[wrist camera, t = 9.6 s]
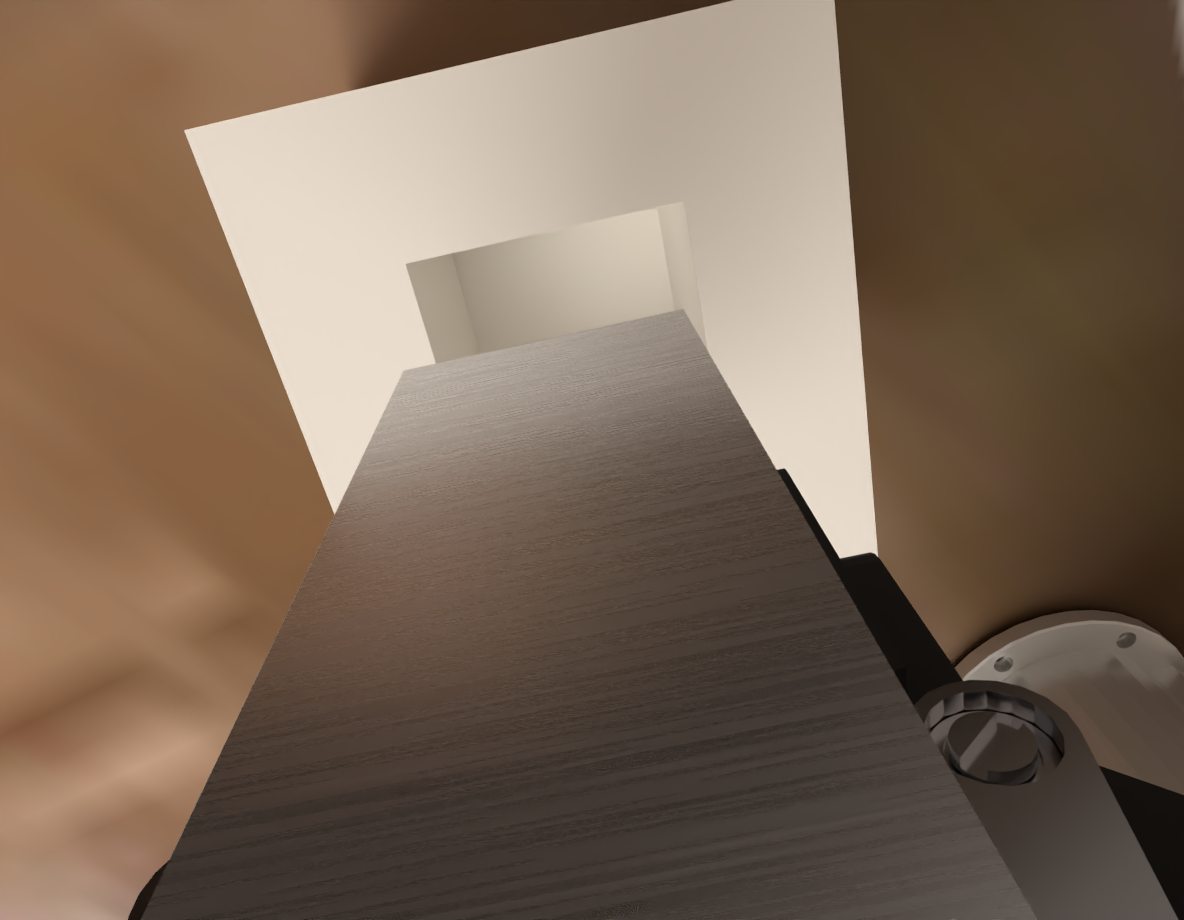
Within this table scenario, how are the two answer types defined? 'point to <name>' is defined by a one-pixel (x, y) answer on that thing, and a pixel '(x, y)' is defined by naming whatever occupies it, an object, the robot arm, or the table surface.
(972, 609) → the table surface
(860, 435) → the white box with slot
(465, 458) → the white rectangular block
